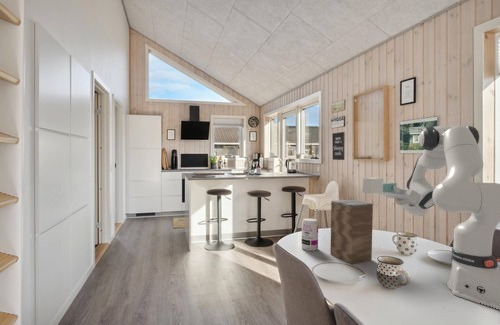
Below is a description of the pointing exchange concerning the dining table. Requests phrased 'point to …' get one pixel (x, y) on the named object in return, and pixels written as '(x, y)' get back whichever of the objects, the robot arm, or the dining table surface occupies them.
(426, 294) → the dining table surface
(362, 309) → the dining table surface
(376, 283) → the dining table surface
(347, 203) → the pedestal
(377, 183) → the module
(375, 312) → the dining table surface
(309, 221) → the supplement can
